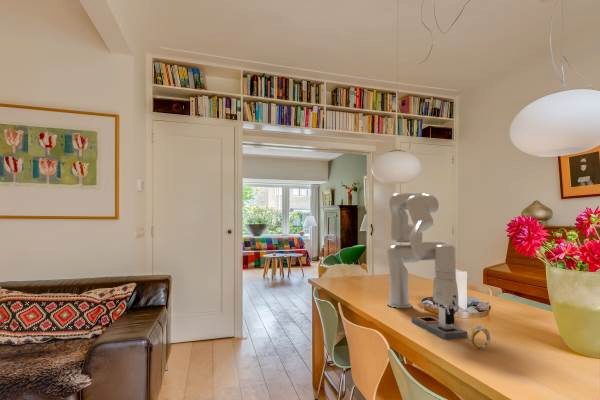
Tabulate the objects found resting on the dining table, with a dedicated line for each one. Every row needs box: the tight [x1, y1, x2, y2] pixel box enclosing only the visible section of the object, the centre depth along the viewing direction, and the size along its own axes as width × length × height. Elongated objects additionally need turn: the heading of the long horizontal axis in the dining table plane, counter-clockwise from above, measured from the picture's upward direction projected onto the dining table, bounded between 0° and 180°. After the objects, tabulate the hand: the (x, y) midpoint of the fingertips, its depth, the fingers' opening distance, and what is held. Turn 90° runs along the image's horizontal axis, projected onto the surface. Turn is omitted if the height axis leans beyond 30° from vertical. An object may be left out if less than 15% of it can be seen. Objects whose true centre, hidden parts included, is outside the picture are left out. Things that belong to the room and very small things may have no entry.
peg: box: [437, 306, 455, 330], centre depth 132 cm, size 4×4×8 cm
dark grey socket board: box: [411, 315, 468, 341], centre depth 137 cm, size 22×10×2 cm, turn 14°
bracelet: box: [469, 324, 491, 350], centre depth 117 cm, size 7×3×8 cm, turn 94°
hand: (446, 321), depth 132 cm, fingers closed on peg, 4 cm apart
